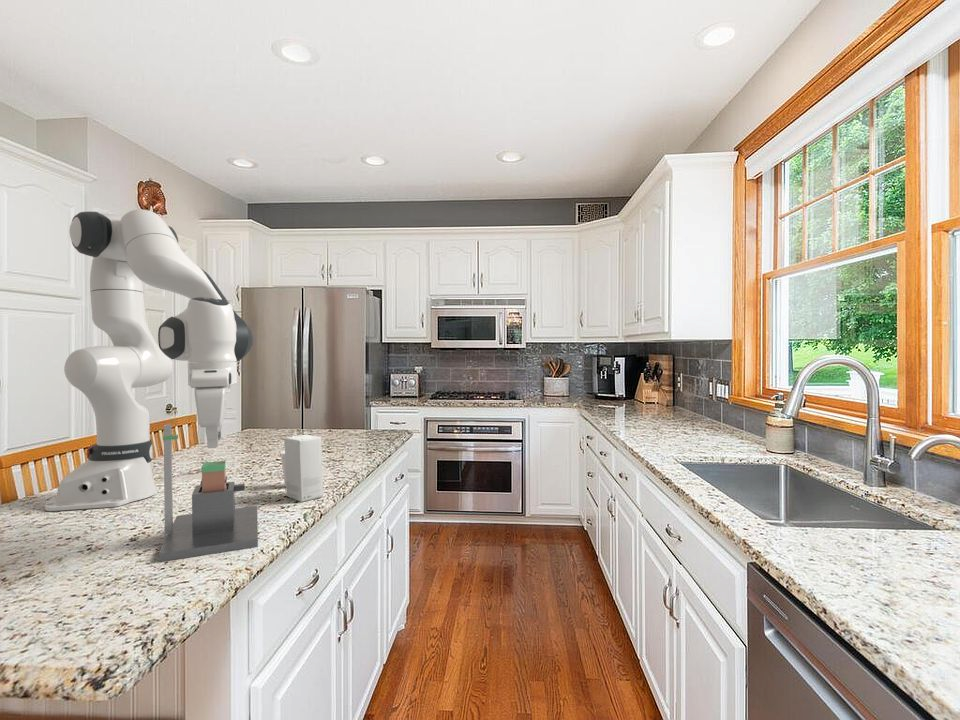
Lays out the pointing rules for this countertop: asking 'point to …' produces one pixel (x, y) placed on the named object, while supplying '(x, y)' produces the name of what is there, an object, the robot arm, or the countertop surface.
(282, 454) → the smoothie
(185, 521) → the stand
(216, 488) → the column
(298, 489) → the skincare box
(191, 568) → the countertop surface
